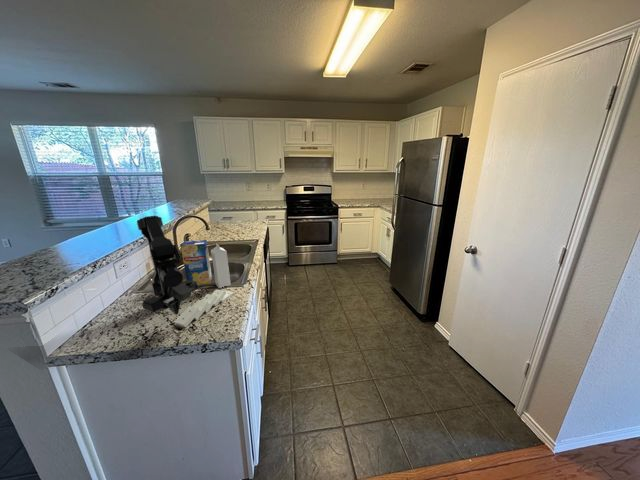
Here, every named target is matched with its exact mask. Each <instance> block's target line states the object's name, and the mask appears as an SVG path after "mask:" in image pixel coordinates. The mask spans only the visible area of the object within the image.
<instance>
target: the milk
mask: <svg viewBox="0 0 640 480" xmlns="http://www.w3.org/2000/svg"><path fill="white" fill-rule="evenodd" d="M215 244H216V246H215V247H213V248H212V249H211V250H210V253H211V254H210V255H211V260H212V268H213V273H214V281H215V285H216V286H217V288H218V289H219V288H220V289H223V288H225V287H224V286H227V287H230V286H231V276H230V269H229V260H228V253H227V250H226V249H224V247H220V245H219V244H217V243H215ZM222 287H223V288H222Z"/></svg>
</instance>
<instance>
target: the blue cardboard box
mask: <svg viewBox="0 0 640 480" xmlns="http://www.w3.org/2000/svg"><path fill="white" fill-rule="evenodd" d="M208 247H209V246H208V241H207V239H201V240H200V239H199V240H187V241H186V240H185V241H183V242H182V244H180V250H181V251H180V252H181V255H182V261H183V266H184V272H185V277H186V280H191V281H195V282H197V283H198V286H200V285H207V284H208V285H209V284H211V282H212V280H213V275H212V274H213V273H212V267H211V261H210V254H209V248H208Z"/></svg>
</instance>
